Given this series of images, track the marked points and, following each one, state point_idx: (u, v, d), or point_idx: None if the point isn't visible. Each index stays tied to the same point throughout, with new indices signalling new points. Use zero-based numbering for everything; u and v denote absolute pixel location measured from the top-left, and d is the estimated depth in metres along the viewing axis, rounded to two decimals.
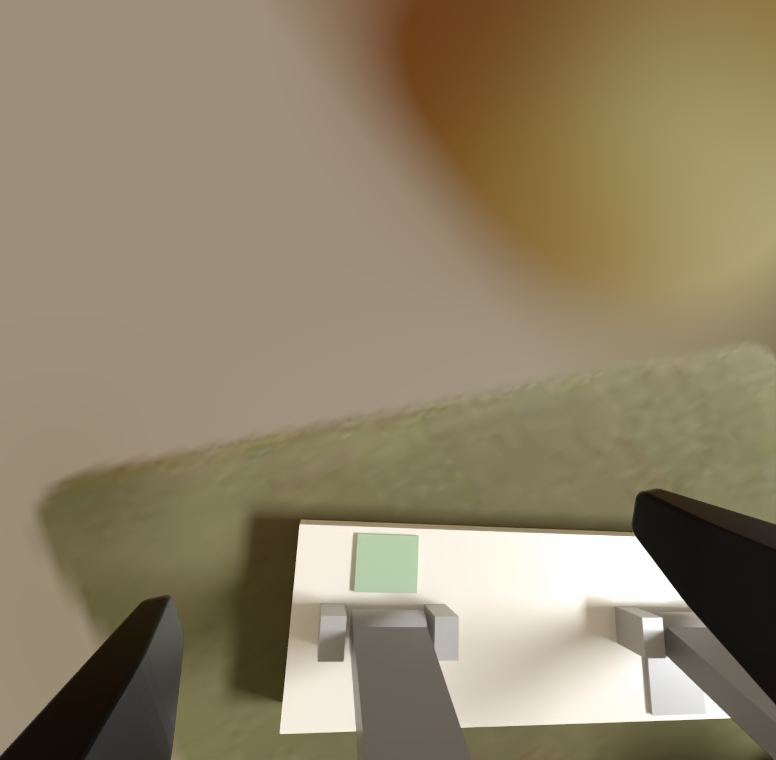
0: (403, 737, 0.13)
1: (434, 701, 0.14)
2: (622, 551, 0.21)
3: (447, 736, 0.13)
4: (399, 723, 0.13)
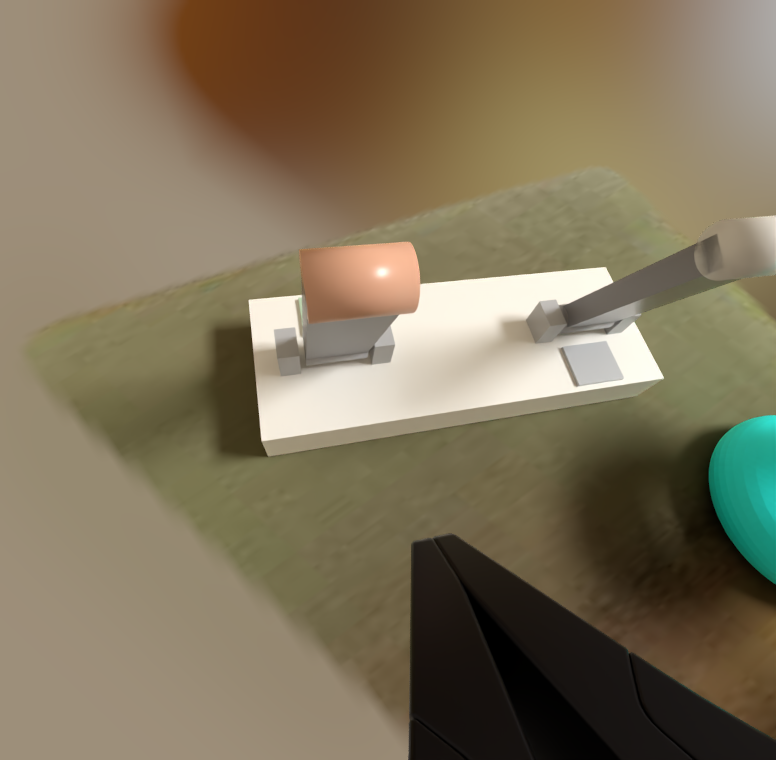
0: None
1: None
2: (521, 284, 0.26)
3: None
4: None
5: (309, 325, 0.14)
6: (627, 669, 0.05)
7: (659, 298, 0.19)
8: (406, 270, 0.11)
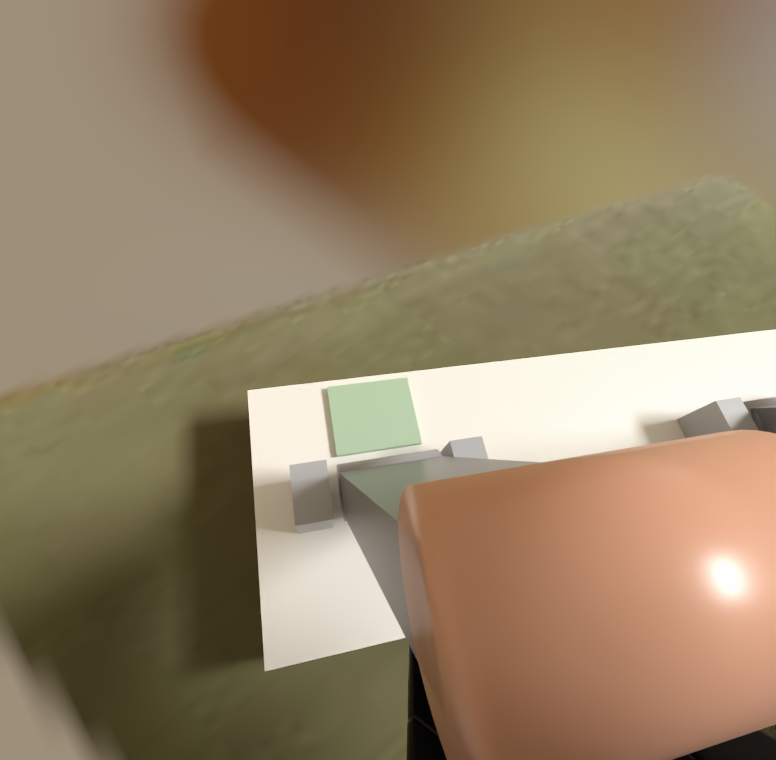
0: (423, 476, 0.08)
1: (466, 463, 0.09)
2: (661, 358, 0.17)
3: (494, 465, 0.08)
4: (415, 475, 0.08)
5: None
6: None
7: None
8: None
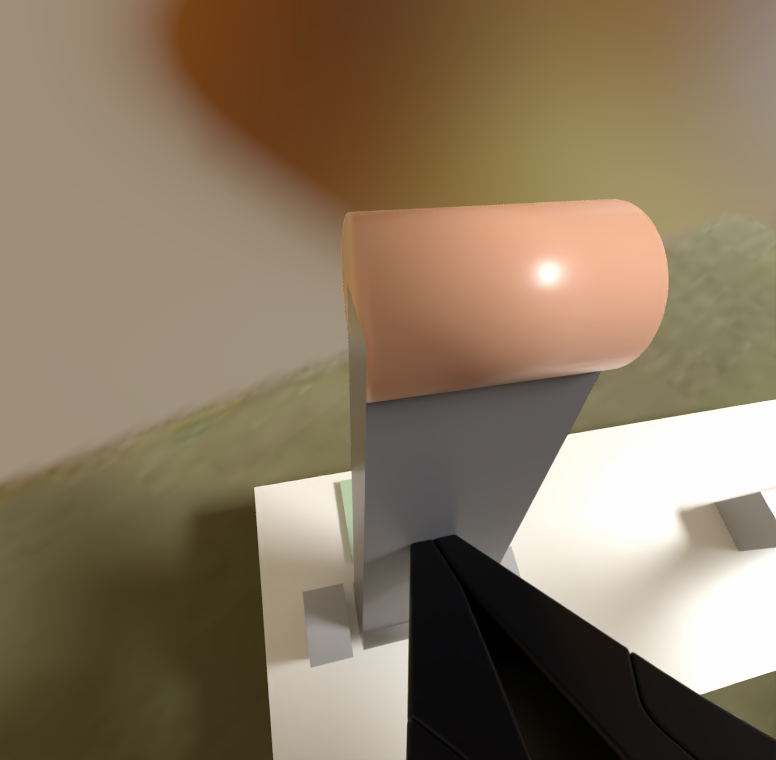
0: None
1: None
2: (694, 432, 0.16)
3: None
4: None
5: (371, 463, 0.06)
6: (628, 669, 0.05)
7: None
8: (613, 212, 0.04)
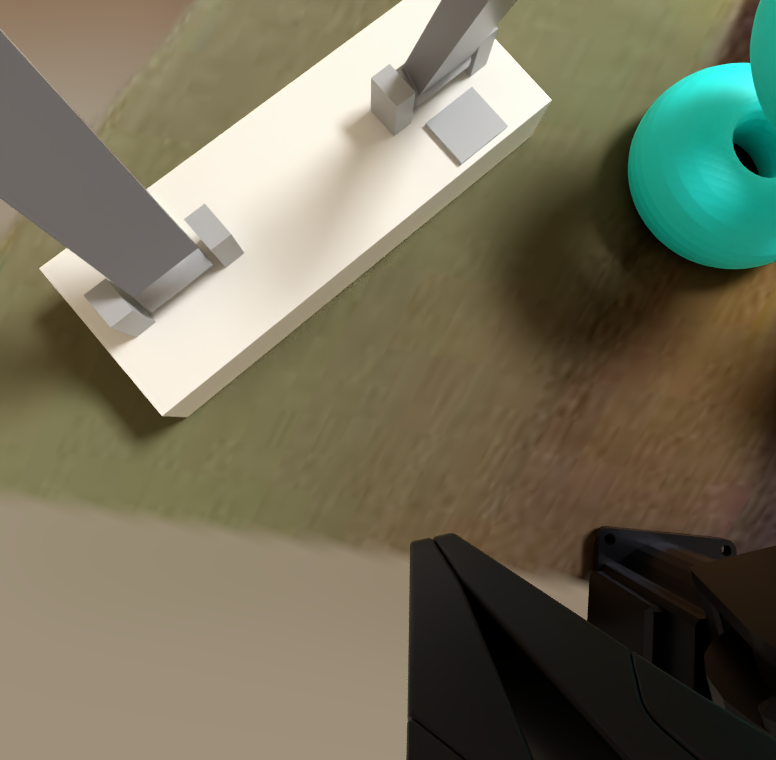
0: None
1: None
2: (345, 61, 0.19)
3: None
4: None
5: None
6: (629, 668, 0.05)
7: None
8: None
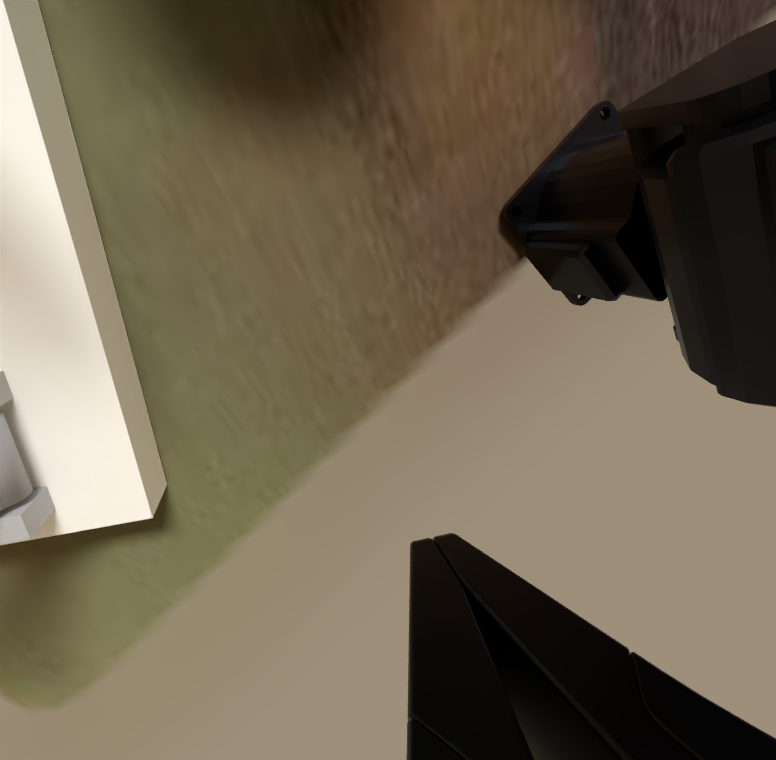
0: None
1: None
2: None
3: None
4: None
5: None
6: (628, 669, 0.05)
7: None
8: None
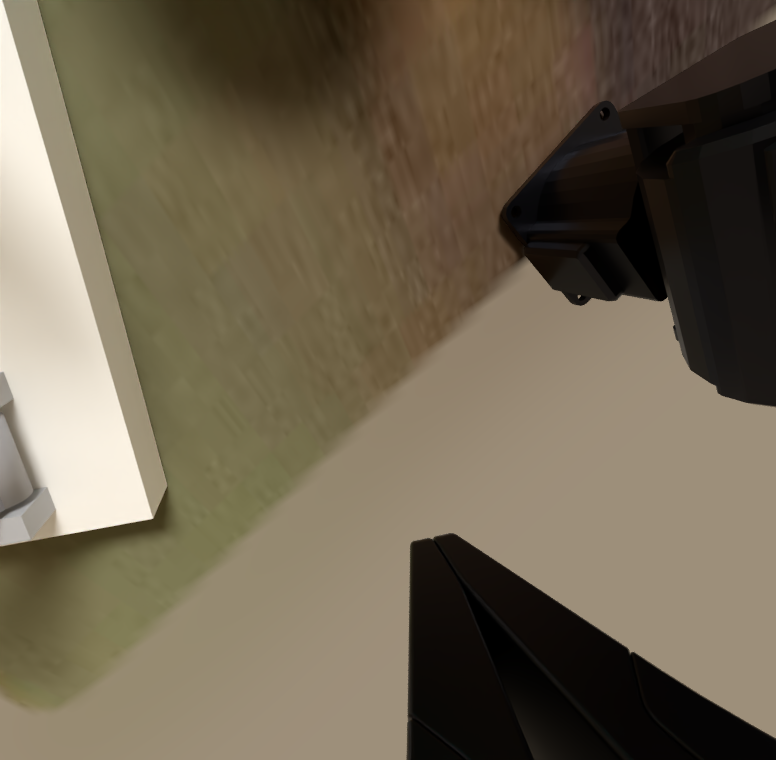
0: None
1: None
2: None
3: None
4: None
5: None
6: (628, 668, 0.05)
7: None
8: None
